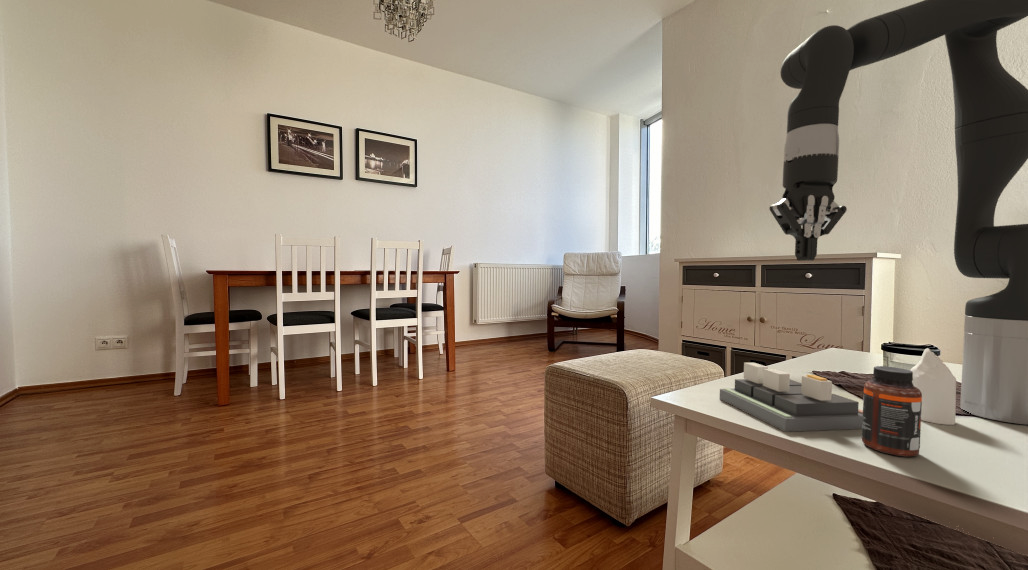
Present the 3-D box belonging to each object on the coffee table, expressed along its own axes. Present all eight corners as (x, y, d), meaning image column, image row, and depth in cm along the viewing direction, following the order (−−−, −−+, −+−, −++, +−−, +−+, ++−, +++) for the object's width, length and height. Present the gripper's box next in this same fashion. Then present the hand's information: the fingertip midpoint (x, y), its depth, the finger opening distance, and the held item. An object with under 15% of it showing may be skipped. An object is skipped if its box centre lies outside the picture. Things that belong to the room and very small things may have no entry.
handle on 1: (753, 378, 77) (753, 362, 77) (767, 383, 74) (767, 367, 74) (743, 378, 77) (744, 362, 77) (757, 383, 74) (757, 367, 74)
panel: (794, 397, 80) (795, 377, 80) (876, 428, 64) (877, 403, 64) (719, 399, 78) (720, 378, 78) (785, 431, 62) (786, 406, 62)
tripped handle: (811, 393, 68) (812, 373, 68) (831, 400, 64) (832, 379, 64) (801, 393, 68) (801, 374, 68) (820, 400, 64) (820, 379, 64)
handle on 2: (773, 385, 73) (773, 368, 72) (789, 391, 69) (789, 373, 69) (762, 385, 72) (763, 368, 72) (778, 391, 69) (779, 374, 69)
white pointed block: (969, 353, 65) (927, 351, 66) (965, 426, 65) (924, 423, 67) (939, 346, 71) (901, 344, 72) (936, 414, 71) (898, 411, 73)
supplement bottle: (932, 461, 53) (936, 375, 53) (879, 456, 54) (883, 372, 54) (898, 442, 59) (902, 365, 58) (851, 438, 60) (855, 362, 60)
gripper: (825, 166, 73) (820, 262, 73) (758, 161, 71) (754, 260, 72) (866, 154, 65) (861, 261, 66) (792, 148, 64) (787, 258, 64)
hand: (805, 260), depth 69 cm, fingers closed
